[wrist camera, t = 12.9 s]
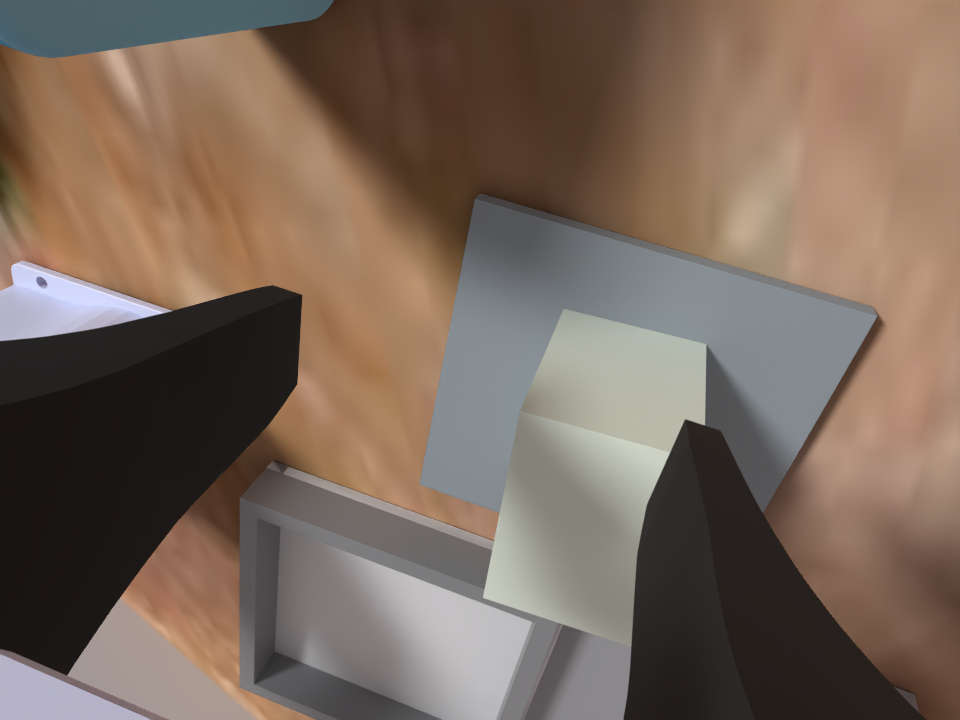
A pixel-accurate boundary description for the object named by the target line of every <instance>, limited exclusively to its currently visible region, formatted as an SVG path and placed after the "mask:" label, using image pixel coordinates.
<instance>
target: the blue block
mask: <svg viewBox="0 0 960 720" xmlns="http://www.w3.org/2000/svg"><path fill="white" fill-rule="evenodd" d="M333 1H334V0H0V44H1V45H4V46H7V47H10V48H13V49H15V50H18V51H21V52H24V53H28V54H31V55H35V56H39V57H48V58H55V57H66V56H73V55H80V54H87V53H93V52H100V51H107V50H114V49H120V48H127V47H134V46H141V45H147V44H154V43H161V42H168V41H174V40H181V39H188V38H195V37H202V36H208V35H215V34H222V33H229V32H235V31H242V30H249V29H256V28H262V27H269V26H276V25H283V24H289V23H296V22H303V21H310V20H313V19H316V18H318V17H320V16H321V15H322V14H324V13H325V12H326V10H327V9H328V8H329V7H330V5H331V4H332V2H333Z"/></svg>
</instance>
